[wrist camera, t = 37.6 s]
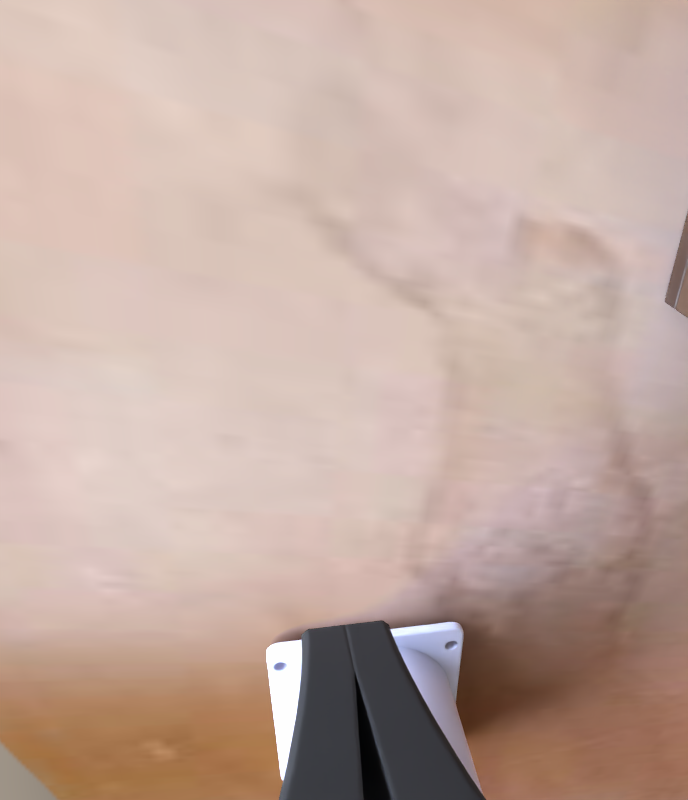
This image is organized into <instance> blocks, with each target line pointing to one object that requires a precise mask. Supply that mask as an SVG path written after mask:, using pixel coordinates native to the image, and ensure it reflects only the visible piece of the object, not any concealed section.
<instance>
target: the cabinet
mask: <svg viewBox="0 0 688 800" xmlns="http://www.w3.org/2000/svg"><path fill="white" fill-rule="evenodd" d="M665 302H666V303H667V304H669V305H670V306H672V307H673V308H675V309H676V310H677V311H679V312H680V313H682V314H683V315H684V316H686V317H687V318H688V214H687V218H686V221H685V225H684V229H683V233H682V237H681V241H680V245H679V248H678V252H677V256H676V260H675V264H674V268H673V271H672V275H671V279H670V283H669V287H668V291H667V295H666V298H665Z"/></svg>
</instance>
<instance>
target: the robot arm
mask: <svg viewBox="0 0 688 800" xmlns="http://www.w3.org/2000/svg"><path fill="white" fill-rule="evenodd" d="M463 637H464V633H463V630H462V627H461V625H460V624H459V623H456V622H445V623H437V624H428V625H420V626H412V627H403V628H395V629H390V627H389V625H388V624H387V623H385V622H384V621H374V622H366V623H357V624H349V625H340V626H332V627H323V628H315V629H308V630H307V631H305V632H304V633H303V634H302V635H301V639H302V640H295V641H287V642H279V643H274V644H272V645H271V646H269V648H268V649H267V665H268V673H269V682H270V690H271V698H272V706H273V715H274V723H275V731H276V739H277V748H278V756H279V764H280V772H281V778H282V780H283V784H282V788H281V793H280V797H279V800H486V799H485V797H484V796H483V793H482V789H481V786H480V783H479V780H478V776H477V773H476V770H475V766H474V763H473V760H472V757H471V753H470V750H469V747H468V743H467V740H466V737H465V734H464V730H463V727H462V724H461V720H460V717H459V714H458V711H457V707H456V704H455V703H456V695H457V687H458V679H459V670H460V662H461V654H462V646H463Z"/></svg>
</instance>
